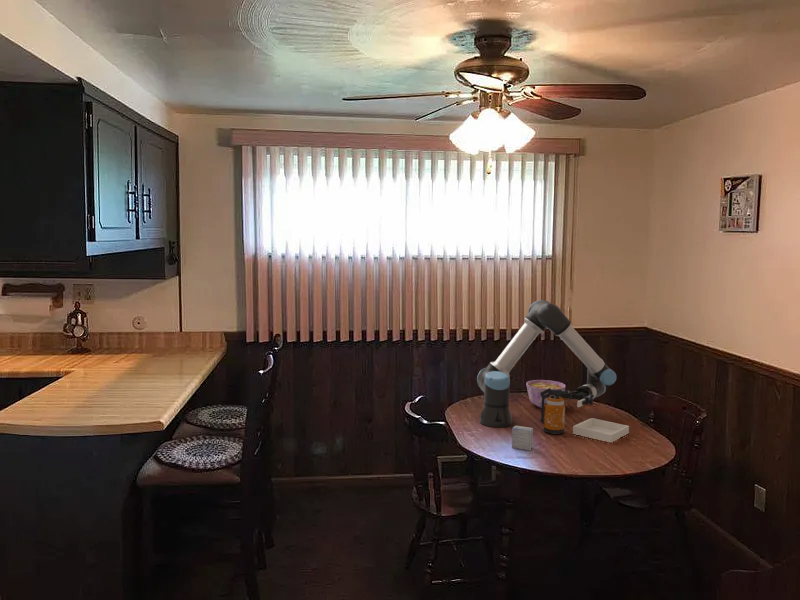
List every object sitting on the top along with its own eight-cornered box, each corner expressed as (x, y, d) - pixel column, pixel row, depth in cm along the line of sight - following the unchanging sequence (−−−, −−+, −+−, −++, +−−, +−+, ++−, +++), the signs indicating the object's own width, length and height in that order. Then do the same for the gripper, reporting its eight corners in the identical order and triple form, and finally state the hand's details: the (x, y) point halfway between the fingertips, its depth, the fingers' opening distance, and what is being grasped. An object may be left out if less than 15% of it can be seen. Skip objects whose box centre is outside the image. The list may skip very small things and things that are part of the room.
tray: (611, 444, 284) (611, 435, 283) (572, 434, 296) (573, 426, 295) (628, 434, 297) (629, 425, 297) (591, 426, 309) (591, 417, 309)
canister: (564, 435, 294) (566, 391, 292) (538, 434, 296) (540, 390, 294) (563, 429, 303) (565, 387, 301) (538, 428, 305) (540, 385, 303)
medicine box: (532, 447, 278) (533, 427, 277) (530, 451, 274) (530, 430, 273) (514, 445, 281) (515, 425, 280) (511, 448, 277) (512, 428, 276)
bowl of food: (518, 407, 340) (519, 385, 338) (534, 399, 356) (535, 378, 355) (556, 414, 328) (557, 391, 327) (570, 405, 345) (571, 383, 343)
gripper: (609, 405, 314) (589, 414, 298) (562, 396, 330) (540, 404, 314) (610, 389, 313) (589, 398, 297) (562, 381, 329) (540, 389, 314)
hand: (564, 401), depth 306 cm, fingers open, 13 cm apart
